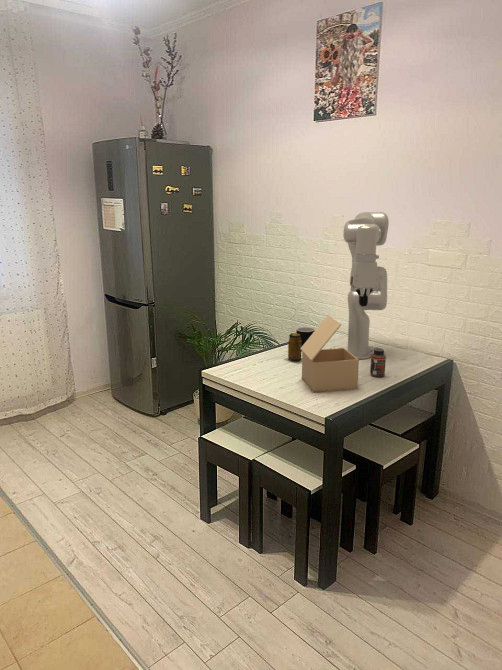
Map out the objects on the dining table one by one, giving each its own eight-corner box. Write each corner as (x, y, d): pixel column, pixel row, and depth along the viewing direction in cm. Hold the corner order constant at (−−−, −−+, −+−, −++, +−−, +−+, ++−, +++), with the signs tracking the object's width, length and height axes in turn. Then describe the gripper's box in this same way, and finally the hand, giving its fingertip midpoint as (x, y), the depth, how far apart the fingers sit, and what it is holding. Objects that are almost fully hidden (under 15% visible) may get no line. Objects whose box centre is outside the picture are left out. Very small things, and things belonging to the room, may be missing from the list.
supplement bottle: (376, 378, 211) (378, 352, 208) (367, 374, 217) (368, 348, 214) (387, 376, 214) (389, 350, 211) (378, 371, 219) (379, 346, 216)
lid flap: (328, 315, 207) (327, 315, 207) (341, 324, 193) (340, 324, 193) (301, 349, 209) (300, 348, 208) (312, 360, 194) (311, 359, 194)
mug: (309, 353, 246) (309, 332, 243) (292, 350, 251) (293, 330, 248) (320, 346, 255) (321, 327, 253) (304, 344, 260) (304, 324, 257)
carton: (343, 375, 216) (344, 347, 213) (357, 388, 201) (358, 359, 197) (301, 378, 213) (302, 350, 209) (313, 392, 197) (313, 362, 194)
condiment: (295, 356, 241) (295, 331, 238) (307, 360, 235) (308, 335, 232) (283, 359, 237) (283, 334, 234) (296, 363, 231) (296, 338, 227)
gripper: (379, 256, 200) (377, 303, 205) (343, 258, 198) (341, 304, 203) (388, 259, 193) (385, 306, 198) (350, 260, 191) (348, 308, 195)
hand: (363, 305), depth 200 cm, fingers closed
